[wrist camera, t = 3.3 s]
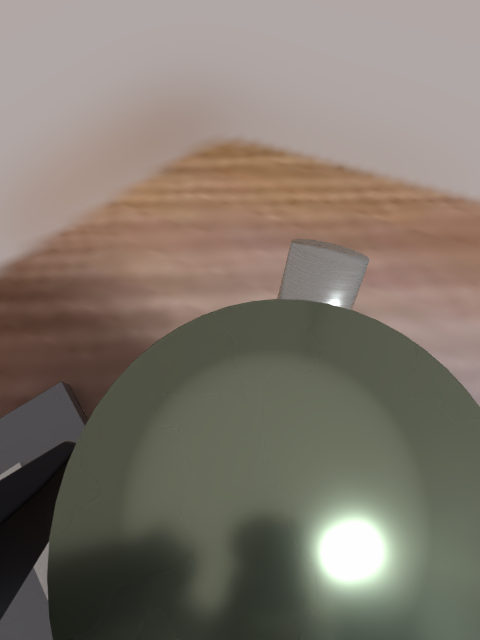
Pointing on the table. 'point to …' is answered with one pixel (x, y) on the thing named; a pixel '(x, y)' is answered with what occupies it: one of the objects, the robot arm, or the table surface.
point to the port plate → (13, 453)
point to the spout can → (274, 480)
